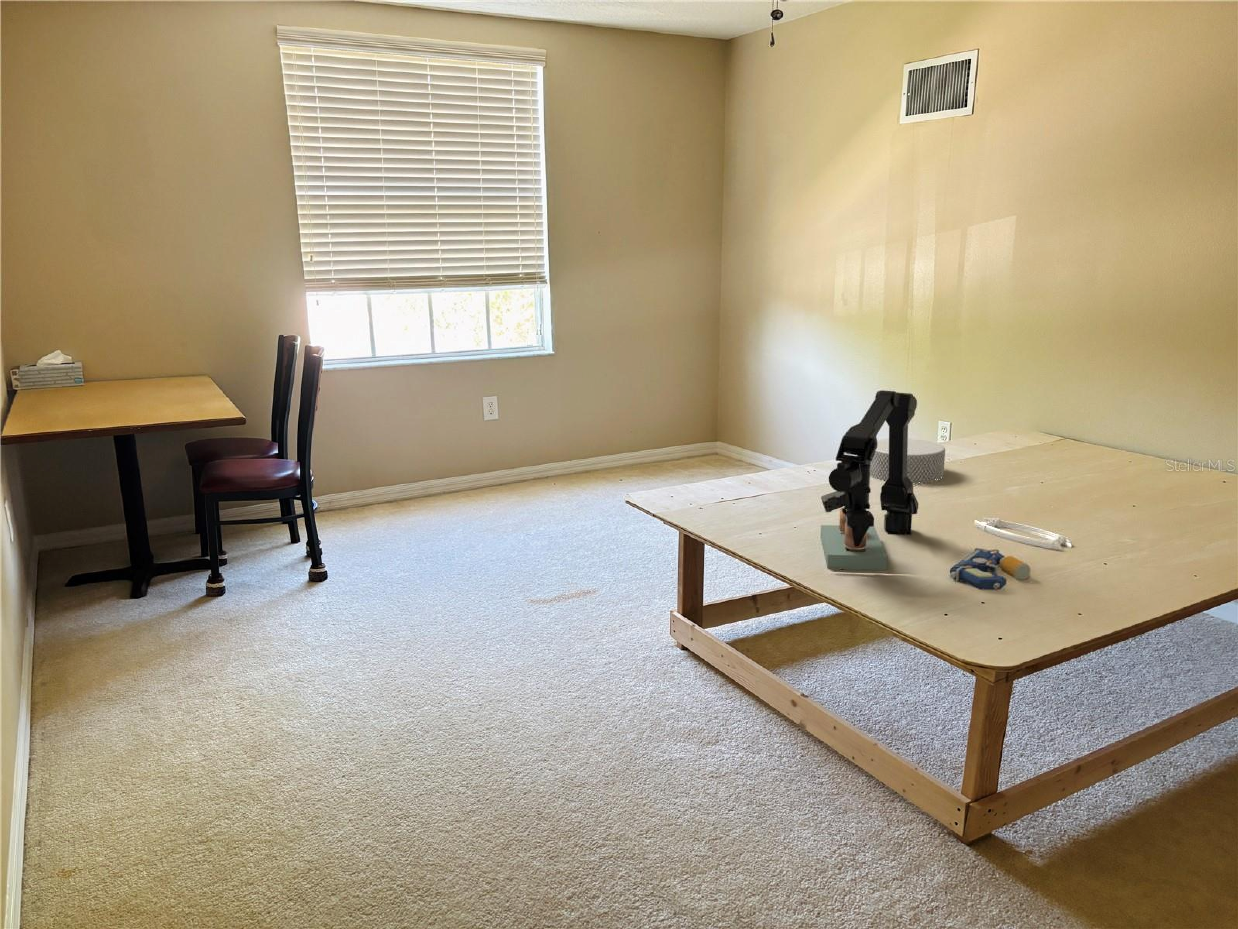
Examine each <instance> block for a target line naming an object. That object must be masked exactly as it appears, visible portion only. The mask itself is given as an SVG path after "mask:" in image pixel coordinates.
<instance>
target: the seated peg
mask: <svg viewBox="0 0 1238 929" xmlns="http://www.w3.org/2000/svg"><path fill="white" fill-rule="evenodd" d="M842 508H844V506H843V507H841V508H839V524H838V525H839V532H840V533H842V534H845V522H846V521H845V520H846V515H845V514H844V513H843V512H842Z"/></svg>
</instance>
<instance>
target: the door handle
mask: <svg viewBox="0 0 1238 929" xmlns="http://www.w3.org/2000/svg"><path fill="white" fill-rule="evenodd" d="M982 519H983V520H982V521H981V522H980V521H979V520H977V519H976V520H974V522H973V523H974V526H975V528H977V529H979V530H980V531H983V532H984V531H985V532H986V533H988V534H991V535H993V534H994V536H995V537H996V536H997V537H1000V538H1002V537H1003V538H1002V539H1005V540H1009V541H1013V542H1017V543H1021V544H1025V545H1030V546H1034V547H1039V548H1043V549H1047V550H1054V551H1055V550H1056V551H1059V552H1060V551H1062V552H1063V551H1064V549H1063V547H1062V545H1063V546H1067V547H1069V548H1072V547H1073V543H1072V541H1071V540H1070V539H1069V538H1068V537H1067V536H1065V535H1062V534H1057V533H1054V532H1051V531H1048V530H1045V529H1041V528H1038V527H1034V526H1030V525H1026V524H1022V523H1017V522H1013V521H1007V520H1002V519H1001V518H997V517H991V518H988V517H983V518H982ZM995 526H996V527H995ZM999 527H1000V528H1004V527H1007V528H1006V529H1009V528H1011V529H1010V530H1014V531H1018V532H1022V531H1023V533H1027V534H1031V535H1033V536H1034V535H1035V536H1038V537H1042V538H1045V539H1044V540H1043V539H1039V538H1035V537H1028V536H1025V535H1021V534H1016V533H1013V532H1009V531H1007V530H1004V529H1003V530H1002V529H999Z"/></svg>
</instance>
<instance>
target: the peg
mask: <svg viewBox="0 0 1238 929" xmlns="http://www.w3.org/2000/svg"><path fill="white" fill-rule="evenodd" d="M866 536H867V532H866V534H865V536H864V537H863V539H862V541H861V543H860V545H859V546H854V542H853V535H852V529H851V527H850V526H847V524H846V522H845V543H844V546H845V547H846V548H848V551H852V552H862V551H863V549H865V548H866Z"/></svg>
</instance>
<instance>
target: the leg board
mask: <svg viewBox="0 0 1238 929" xmlns="http://www.w3.org/2000/svg"><path fill="white" fill-rule="evenodd" d="M820 542H821V546H822V551H823V555H824V560H825V563H826V568H827V569H836V570H837V569H839V570H840V569H841V570H842V569H843V570H873V571H875V570H877V571H880V570H881V571H887V563H888V562H887V561H888V558H887V557H888V555H887V553H886V551H885V548H884V546H883V543H882V541H881V539H880V536H879V534H878V532H877V529H876V527H875V525H874V526H872V527H869V529H868V530H867V536H866V548H865V549H863V551H862V552H852V551H848V548H846V547H845V546H844V543H845V534H842V533H840V532H839V524H837V525H836V524H835V525H834V524H820Z"/></svg>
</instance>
